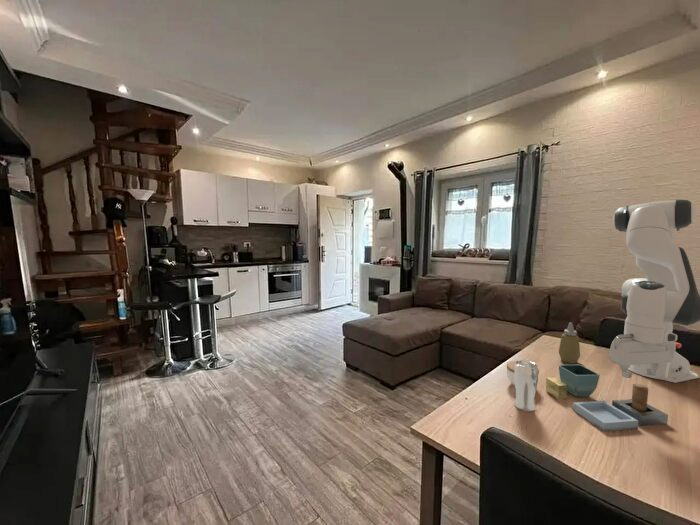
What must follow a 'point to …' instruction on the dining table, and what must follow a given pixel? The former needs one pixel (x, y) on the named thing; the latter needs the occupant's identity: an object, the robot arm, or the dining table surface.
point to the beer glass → (525, 384)
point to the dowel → (639, 397)
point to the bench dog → (556, 388)
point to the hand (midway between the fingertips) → (639, 376)
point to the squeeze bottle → (569, 345)
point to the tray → (605, 415)
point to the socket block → (642, 413)
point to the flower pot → (578, 379)
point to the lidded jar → (512, 371)
